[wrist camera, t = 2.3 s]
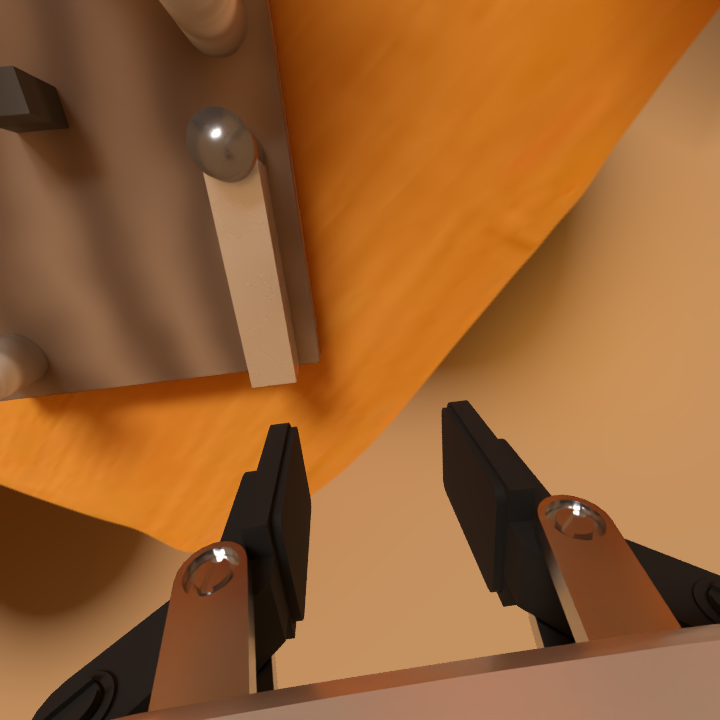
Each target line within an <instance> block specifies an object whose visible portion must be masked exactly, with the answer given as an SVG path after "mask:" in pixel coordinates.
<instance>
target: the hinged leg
mask: <svg viewBox="0 0 720 720" xmlns="http://www.w3.org/2000/svg"><path fill="white" fill-rule="evenodd" d="M186 144H187V149H188V152H189V154H190V157H191V159H192V160H193V162H194V163H195V165H196V166H197V167H198V168H199V169H200V170H201V171H202V172H203V174H204V179H205V183H206V187H207V192H208V196H209V201H210V205H211V209H212V214H213V218H214V223H215V227H216V231H217V236H218V240H219V245H220V249H221V253H222V258H223V262H224V267H225V271H226V276H227V280H228V284H229V289H230V293H231V298H232V302H233V306H234V311H235V315H236V320H237V324H238V328H239V333H240V337H241V342H242V346H243V350H244V355H245V359H246V364H247V368H248V372H249V377H250V381H251V386H252V388H255V387H263V386H271V385H280V384H288V383H296V382H297V378H298V373H299V368H300V364H299V358H298V352H297V346H296V341H295V335H294V329H293V323H292V317H291V311H290V305H289V300H288V294H287V288H286V282H285V276H284V270H283V265H282V259H281V253H280V247H279V241H278V235H277V229H276V224H275V218H274V212H273V206H272V200H271V194H270V188H269V183H268V177H267V171H266V156H265V152H264V149H263V147H262V145H261V143H260V142H259V141H258V139H257V138H256V137H255V136H254V135H253V133H252V132H251V131H250V130H249V129H248V127H247V126H246V125H245V124H244V123H243V122H242V120H241V119H240V118H239V117H238V116H237V115H236V114H234V113H233V112H231V111H230V110H227V109H225V108H222V107H216V106H214V107H207V108H204V109H202V110H200V111H198V112H197V113H196V114H195V115H194V116H193V117H192V119H191V120H190V122H189V124H188V127H187V131H186Z"/></svg>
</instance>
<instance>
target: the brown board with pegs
mask: <svg viewBox="0 0 720 720" xmlns="http://www.w3.org/2000/svg"><path fill="white" fill-rule="evenodd" d="M214 106H216V107H222V108H225V109H227V110H230V111H231V112H233V113H234V114H236V115H237V116H238V117H239V118H240V119H241V120H242V122H243V123H244V124H245V125H246V126H247V127H248V129H249V130H250V131H251V132H252V133H253V135H254V136H255V137H256V138H257V139H258V141H259V142H260V143H261V145H262V147H263V149H264V152H265V156H266V171H267V177H268V183H269V188H270V194H271V200H272V206H273V212H274V218H275V224H276V229H277V235H278V241H279V247H280V253H281V259H282V265H283V270H284V276H285V282H286V288H287V294H288V300H289V305H290V311H291V317H292V323H293V329H294V335H295V341H296V346H297V352H298V358H299V364H300V365H303V364H312V363H320V353H321V351H320V344H319V338H318V331H317V324H316V317H315V310H314V304H313V297H312V290H311V283H310V276H309V269H308V263H307V256H306V249H305V242H304V235H303V229H302V222H301V215H300V208H299V201H298V195H297V188H296V181H295V174H294V167H293V160H292V154H291V147H290V140H289V133H288V126H287V120H286V113H285V106H284V99H283V92H282V85H281V79H280V72H279V65H278V58H277V51H276V45H275V38H274V31H273V24H272V17H271V11H270V4H269V0H0V401H6V400H14V399H22V398H31V397H39V396H47V395H55V394H64V393H72V392H80V391H88V390H97V389H105V388H113V387H121V386H130V385H138V384H146V383H154V382H163V381H171V380H179V379H188V378H196V377H204V376H212V375H221V374H229V373H237V372H245V371H248V368H247V364H246V359H245V355H244V350H243V346H242V342H241V337H240V333H239V328H238V324H237V320H236V315H235V311H234V306H233V302H232V298H231V293H230V289H229V284H228V280H227V276H226V271H225V267H224V262H223V258H222V253H221V249H220V245H219V240H218V236H217V231H216V227H215V223H214V218H213V214H212V209H211V205H210V201H209V196H208V192H207V187H206V183H205V179H204V174H203V172H202V171H201V170H200V169H199V168H198V167H197V166H196V165H195V163H194V162H193V160H192V159H191V157H190V154H189V152H188V149H187V144H186V131H187V127H188V124H189V122H190V120H191V119H192V117H193V116H194V115H195V114H196V113H197V112H198V111H200V110H202V109H204V108H207V107H214Z"/></svg>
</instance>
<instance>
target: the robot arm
mask: <svg viewBox="0 0 720 720" xmlns="http://www.w3.org/2000/svg"><path fill="white" fill-rule="evenodd" d="M442 445H443V446H442V448H443V449H442V450H443V482H444V487H445V491H446V493H447V496H448V498H449V500H450V502H451V505H452V507H453V509H454V512H455V514H456V516H457V518H458V521H459V523H460V525H461V528H462V530H463V532H464V535H465V537H466V539H467V541H468V544H469V546H470V548H471V551H472V553H473V555H474V557H475V560H476V562H477V564H478V566H479V569H480V571H481V573H482V576H483V578H484V580H485V582H486V585H487V587H488V589H489V590H490V592H497V594H498V595H499V598H500V600H501V602H502V605H503V606H504V607H505V606H512V605H517V606H518V607H520V608H521V609H523V610H525V611H527V612H528V614H529V620H530V624H531V627H532V631H533V634H534V638H535V642H536V645H537V649H533V650H527V651H520V652H513V653H506V654H500V655H493V656H487V657H480V658H474V659H468V660H461V661H454V662H448V663H442V664H435V665H428V666H422V667H416V668H409V669H403V670H396V671H390V672H383V673H377V674H370V675H364V676H358V677H351V678H345V679H339V680H333V681H327V682H321V683H314V684H308V685H302V686H296V687H289V688H283V689H278V687H277V674H276V662H275V655H274V653H275V652H276V651H277V650H278V648H280V647H281V645H282V644H283V643H284V642H285V641H286V639H292V638H295V629H296V621H302V620H303V619H304V611H305V596H306V581H307V566H308V551H309V535H310V519H311V498H310V493H309V487H308V482H307V477H306V471H305V466H304V460H303V455H302V450H301V444H300V439H299V433H298V429H297V427H291V425H290V423H283V424H276V425H271V426H270V428H269V431H268V435H267V438H266V441H265V445H264V448H263V451H262V455H261V458H260V462H259V465H258V468H257V471H251V472H246V473H244V475H243V477H242V480H241V483H240V486H239V489H238V492H237V495H236V498H235V500H234V503H233V506H232V509H231V512H230V515H229V518H228V521H227V523H226V526H225V529H224V532H223V535H222V538H221V541H220V542H217V543H213V544H210V545H208V546H205V547H203V548H201V549H200V550H198V551H197V552H195V553H194V554H192V555H191V556H190V557H189V558H188V559H187V560H186V561H185V562H184V563H183V565H182V566H181V567H180V569H179V570H178V572H177V574H176V577H175V579H174V582H173V588H172V592H171V598H170V600H169V601H168V602H166V603H165V604H164V605H163V606H161V607H160V608H159V609H158V610H156V611H155V612H154V613H152V614H151V615H150V616H149V617H147V618H146V619H145V620H143V621H142V622H141V623H140V624H138V625H137V626H136V627H134V628H133V629H132V630H131V631H129V632H128V633H127V634H126V635H124V636H123V637H122V638H120V639H119V640H118V641H117V642H115V643H114V644H113V645H111V646H110V647H109V648H108V649H106V650H105V651H104V652H102V653H101V654H100V655H99V656H97V657H96V658H95V659H93V660H92V661H91V662H90V663H88V664H87V665H86V666H84V667H83V668H82V669H81V670H79V671H78V672H77V673H75V674H74V675H73V676H72V677H70V678H69V679H68V680H67V681H65V682H64V683H63V684H62V685H61V686H60V687H59V688H58V689H57V690H55V691H54V692H53V693H52V694H51V695H50V696H49V697H48V699H47V700H46V701H45V702H44V703H43V705H42V706H41V707H40V708H39V709H38V711H37V712H36V714H35V715H34V717H33V719H32V720H720V576H719V575H717V574H714V573H711V572H709V571H707V570H704V569H701V568H699V567H696V566H693V565H691V564H689V563H686V562H683V561H681V560H678V559H676V558H673V557H670V556H668V555H665V554H663V553H660V552H657V551H655V550H652V549H650V548H647V547H645V546H642V545H640V544H637V543H634V542H631V541H629V540H626V539H624V538H623V536H622V535H621V533H620V532H619V530H618V528H617V527H616V525H615V524H614V522H613V521H612V519H611V518H610V517H609V516H608V515H607V513H606V512H604V511H603V510H602V509H600V508H599V507H598V506H597V505H595V504H593V503H591V502H589V501H587V500H585V499H581V498H578V497H575V496H569V495H554V496H551V495H550V494H549V492H548V491H547V490H546V489H545V487H544V486H543V485H542V484H541V483H540V481H539V480H538V479H537V478H536V476H535V475H534V474H533V473H532V472H531V470H530V469H529V468H528V467H527V465H526V464H525V463H524V462H523V461H522V459H521V458H520V457H519V456H518V454H517V453H516V452H515V451H514V450H513V448H512V447H511V446H510V445H509V444H508V442H507V441H506V440H504V439H497V437H496V436H495V435H494V434H493V432H492V431H491V430H490V428H489V427H488V426H487V425H486V424H485V422H484V421H483V420H482V418H481V417H480V416H479V414H478V413H477V412H476V411H475V409H474V408H473V407H472V406H471V404H470V403H469V402H468V401H467V400H465V401H457V402H449V403H448V405H447V408H443V409H442Z"/></svg>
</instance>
